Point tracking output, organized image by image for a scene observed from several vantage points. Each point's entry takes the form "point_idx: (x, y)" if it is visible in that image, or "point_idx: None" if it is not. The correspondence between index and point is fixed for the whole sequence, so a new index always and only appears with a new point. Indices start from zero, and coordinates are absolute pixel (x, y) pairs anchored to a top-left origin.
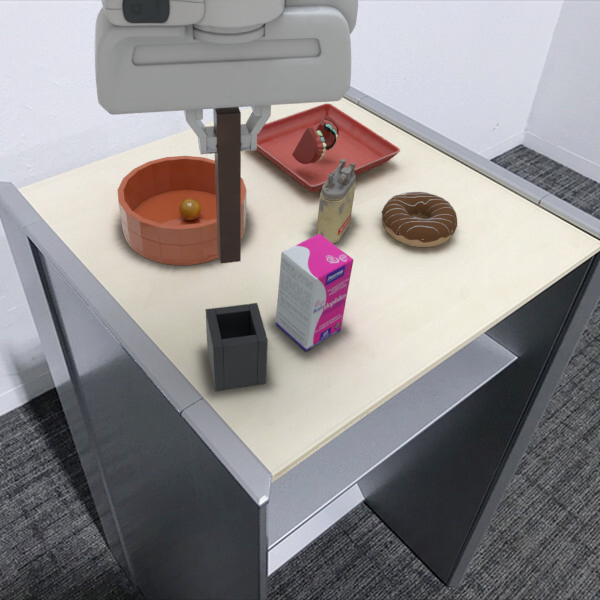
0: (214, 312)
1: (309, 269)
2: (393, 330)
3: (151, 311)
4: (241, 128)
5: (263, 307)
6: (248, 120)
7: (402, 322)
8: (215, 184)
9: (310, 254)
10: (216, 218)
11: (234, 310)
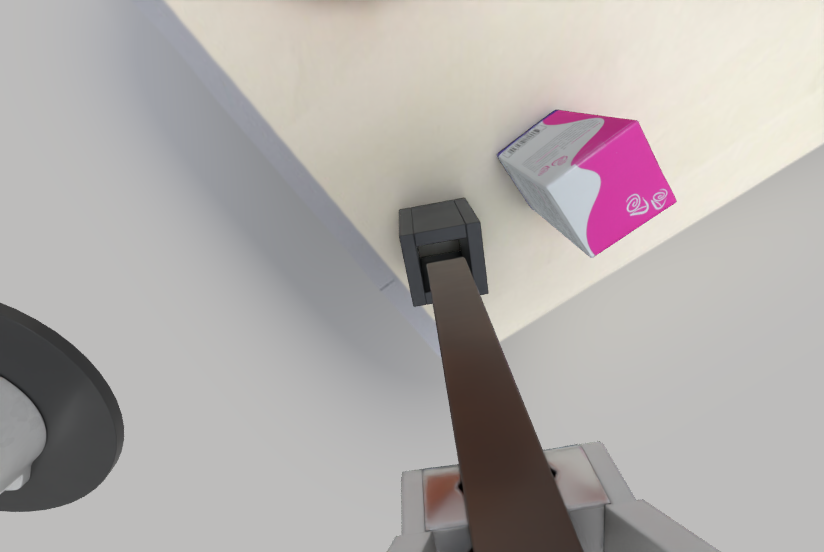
0: (413, 243)
1: (587, 234)
2: (666, 165)
3: (307, 124)
4: (579, 530)
5: (482, 114)
6: (624, 529)
7: (687, 148)
8: (441, 354)
9: (600, 193)
10: (432, 300)
11: (443, 239)
